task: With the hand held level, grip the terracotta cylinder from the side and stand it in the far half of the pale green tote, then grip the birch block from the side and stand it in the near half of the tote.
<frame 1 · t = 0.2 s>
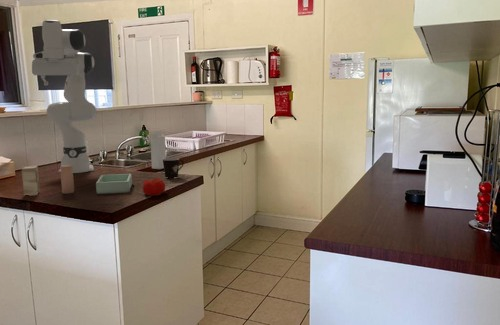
hand: (57, 85, 197), 48 cm above the worktop, tool pointing down, fingers open, 8 cm apart
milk: (159, 168, 245), on the worktop
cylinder: (68, 192, 186), on the worktop
tomato: (154, 194, 183), on the worktop
coffee mug: (174, 178, 217), on the worktop
tote: (115, 188, 193), on the worktop
block: (32, 194, 183), on the worktop
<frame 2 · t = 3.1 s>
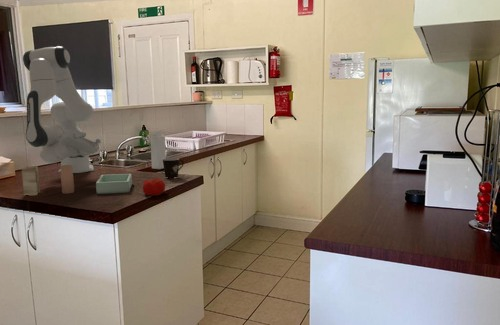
hand: (92, 137, 194), 24 cm above the worktop, tool pointing upward, fingers open, 8 cm apart
nothing on the worktop moved.
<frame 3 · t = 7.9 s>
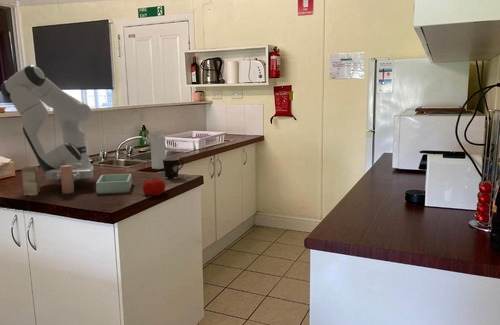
hand: (66, 177, 184), 7 cm above the worktop, tool horizontal, fingers closed on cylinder, 5 cm apart
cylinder: (68, 192, 186), on the worktop, touching gripper
everything else where it was.
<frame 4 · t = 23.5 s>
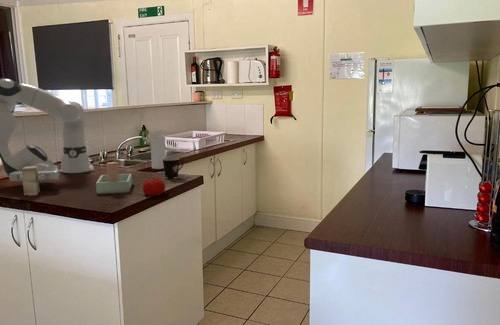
hand: (30, 178, 181), 7 cm above the worktop, tool horizontal, fingers closed on block, 5 cm apart
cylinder: (114, 188, 189), point 1 cm above the worktop, touching tote
block: (32, 194, 183), on the worktop, touching gripper
everything else where it was.
when the fingers open (10 cm above the worktop, at t = 30.9 s): block drops 2 cm, resting on tote.
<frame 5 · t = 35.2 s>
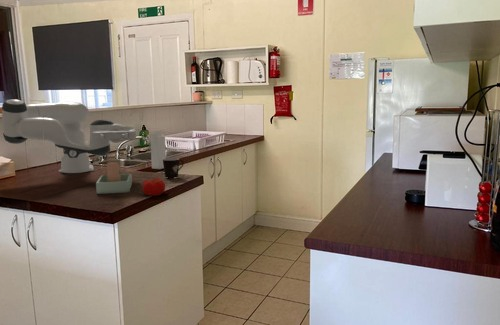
hand: (113, 136, 193), 24 cm above the worktop, tool horizontal, fingers open, 8 cm apart
block: (115, 184, 197), point 1 cm above the worktop, touching tote
everything else where it was.
at the end: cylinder inside the target area on the tote (4.1 cm from its centre), point 0.8 cm above the tote's base; block inside the target area on the tote (3.9 cm from its centre), point 0.8 cm above the tote's base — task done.
